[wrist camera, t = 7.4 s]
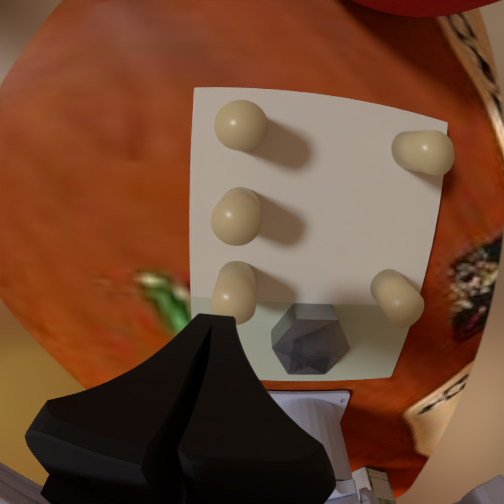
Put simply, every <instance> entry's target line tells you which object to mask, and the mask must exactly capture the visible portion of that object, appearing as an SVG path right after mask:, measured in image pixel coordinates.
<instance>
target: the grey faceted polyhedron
mask: <svg viewBox="0 0 504 504" xmlns="http://www.w3.org/2000/svg"><path fill="white" fill-rule="evenodd" d="M271 343H272V349H273V351H274V353H275V354H276V356H277V358H278V359H279V361H280V362H281V364H282V366H283V367H284V369H285V371H286V372H287V374H288V375H325V374H327V373H328V372H329V371H330V370H331V369H332V368H333V367H334V366H335V365H336V364H337V363H338V362H339V361H340V359H341V358H342V357H343V356H344V355H345V354H346V353H347V352H348V351H349V350H350V346H349V344H348V341H347V339H346V336H345V334H344V332H343V329H342V327H341V324H340V322H339V320H338V317H337V315H336V313H335V310H334V308H333V306H332V304H307V303H293V304H292V306H291V307H290V308H289V309H288V311H287V312H286V313H285V314H284V315H283V317H282V318H281V319H280V320H279V321H278V323H277V324H276V325H275V326H274V327H273V329H272V330H271Z"/></svg>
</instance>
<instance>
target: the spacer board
mask: <svg viewBox="0 0 504 504" xmlns="http://www.w3.org/2000/svg"><path fill="white" fill-rule="evenodd" d="M453 162H454V148H453V144H452V142H451V140H450V139H449V137H448V136H447V122H444V121H441V120H437V119H434V118H431V117H427V116H424V115H420V114H416V113H412V112H409V111H405V110H401V109H396V108H392V107H388V106H383V105H379V104H374V103H369V102H364V101H359V100H353V99H347V98H341V97H335V96H328V95H321V94H313V93H304V92H295V91H284V90H272V89H255V88H218V87H212V88H194V101H193V118H192V138H191V164H190V285H191V312H192V319H193V318H194V317H195V316H196V315H197V314H199V313H203V314H213V315H224V316H233V317H234V318H235V319H236V327H237V332H238V335H239V339H240V342H241V344H242V347H243V349H244V352H245V354H246V356H247V359H248V361H249V362H250V364H251V366H252V368H253V370H254V372H255V374H256V375H257V377H258V378H259V380H278V381H332V380H356V379H372V378H385V377H391V375H392V373H393V370H394V368H395V365H396V363H397V360H398V358H399V355H400V352H401V350H402V347H403V344H404V342H405V339H406V336H407V333H408V330H409V327H410V326H411V325H412V324H414V323H415V322H416V321H417V320H418V319H419V318H420V316H421V315H422V313H423V310H424V300H423V298H422V296H421V295H420V291H421V288H422V284H423V280H424V277H425V273H426V269H427V265H428V260H429V256H430V252H431V247H432V243H433V238H434V233H435V228H436V222H437V216H438V211H439V204H440V198H441V191H442V183H443V175H444V174H446V173H447V172H448V171H449V170H450V169H451V167H452V165H453ZM293 303H307V304H332V306H333V308H334V310H335V313H336V315H337V317H338V320H339V322H340V324H341V327H342V329H343V332H344V334H345V336H346V339H347V341H348V344H349V346H350V350H349V351H348V352H347V353H346V354H345V355H344V356H343V357H342V358H341V359H340V361H339V362H338V363H337V364H336V365H335V366H334V367H333V368H332V369H331V370H330V371H329V372H328V373H327V374H325V375H288V374H287V372H286V371H285V369H284V367H283V366H282V364H281V362H280V361H279V359H278V358H277V356H276V354H275V353H274V351H273V349H272V343H271V330H272V329H273V327H274V326H275V325H276V324H277V323H278V321H279V320H280V319H281V318H282V317H283V315H284V314H285V313H286V312H287V311H288V309H289V308H290V307H291V306H292V304H293Z"/></svg>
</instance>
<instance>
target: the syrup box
mask: <svg viewBox="0 0 504 504" xmlns="http://www.w3.org/2000/svg"><path fill="white" fill-rule="evenodd" d="M352 477H353V479H354V480H355V485H356V489H357V494H358V498H359V503H360V500H361V499H360V494H359V489H361V488H364V487H367V488H368V490H372V491H374V492H375V494H376V497H377V500H378V503H379V504H396V502H395V499H394V495H393V492H392V489H391V486H390V482H389V479H388V476H387V473H386V472H383V471H379V470H375V469H372V468H368V467H362V468H360V469H358V470H356V471H354V472H353V473H352ZM360 504H361V503H360Z"/></svg>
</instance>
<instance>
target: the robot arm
mask: <svg viewBox="0 0 504 504" xmlns="http://www.w3.org/2000/svg"><path fill="white" fill-rule="evenodd" d="M349 398H350V393H349V391H346V390H344V391H310V392H289V391H267V390H266V389H265V387H264V386H263V384H262V383H261V381H260V380H259V378H258V377H257V375H256V374H255V372H254V370H253V368H252V366H251V364H250V362H249V361H248V359H247V356H246V354H245V352H244V349H243V347H242V344H241V342H240V339H239V335H238V332H237V327H236V319H235V318H234V317H233V316H224V315H213V314H203V313H199V314H197V315H196V316H195V317H194V318H193V319H192V320H191V321H190V322H189V323H188V325H187V326H186V327H185V328H184V329H183V330H182V331H181V332H180V333H178V334H177V335H176V336H175V337H174V338H173V339H172V340H171V341H170V342H169V343H168V344H166V345H165V346H164V347H163V348H161V349H160V350H159V351H158V352H157V353H155V354H154V355H153V356H151V357H150V358H149V359H147V360H146V361H144V362H143V363H142V364H140V365H138V366H137V367H135V368H134V369H132V370H130V371H128V372H126V373H124V374H122V375H120V376H118V377H116V378H114V379H112V380H110V381H108V382H106V383H104V384H101V385H99V386H96V387H93V388H91V389H88V390H85V391H82V392H79V393H76V394H72V395H68V396H64V397H60V398H56V399H51V400H48V401H47V402H46V403H45V404H44V406H43V407H42V409H41V410H40V411H39V413H38V414H37V416H36V418H35V419H34V421H33V422H32V424H31V426H30V427H29V429H28V430H27V432H26V434H25V439H26V443H27V446H28V447H29V449H30V450H31V452H32V453H33V455H34V456H35V457H36V459H37V460H38V461H39V462H40V463H41V465H42V466H43V467H44V469H45V470H46V471H47V472H48V473H49V476H48V478H47V480H46V482H45V484H44V487H43V486H41V485H39V484H37V483H35V482H33V481H32V480H30V479H28V478H26V477H24V476H23V475H21V474H19V473H17V472H16V471H14V470H12V469H11V468H9V467H7V466H6V465H4V464H3V463H1V462H0V504H360V503H361V504H379V503H378V500H377V497H376V494H375V492H374V491H372V490H368V488H367V487H364V488H361V489H359V494H360V499H361V500H360V503H359V498H358V494H357V489H356V485H355V480H354V479H353V477H352V473H351V468H350V464H349V459H348V455H347V451H346V446H345V442H344V438H343V434H342V430H341V426H340V421H341V418H342V416H343V413H344V411H345V408H346V406H347V403H348V400H349ZM342 399H343V400H342ZM453 504H504V478H503V476H502V475H499V476H497V477H495V478H493V479H491V480H489V481H487V482H485V483H483V484H481V485H479V486H477V487H476V488H474V489H472V490H471V491H470V492H469V493H467V494H466V495H465V496H464V497H463V498H462V499H461V500H460V501H458V502H456V503H453Z"/></svg>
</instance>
